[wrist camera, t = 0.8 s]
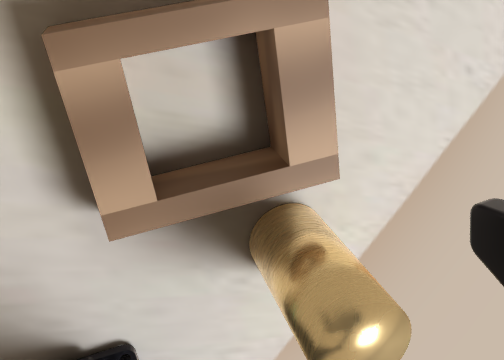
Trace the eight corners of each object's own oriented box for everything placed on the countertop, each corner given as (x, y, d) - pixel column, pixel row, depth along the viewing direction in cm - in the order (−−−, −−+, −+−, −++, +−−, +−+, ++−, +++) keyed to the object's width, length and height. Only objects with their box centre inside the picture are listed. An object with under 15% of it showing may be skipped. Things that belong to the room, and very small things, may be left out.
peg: (325, 259, 26) (410, 368, 19) (255, 280, 25) (316, 403, 18) (319, 194, 24) (411, 289, 17) (243, 215, 23) (307, 323, 16)
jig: (316, 158, 23) (339, 178, 21) (108, 213, 21) (109, 241, 19) (301, -19, 19) (327, -18, 17) (48, 26, 17) (41, 34, 15)
